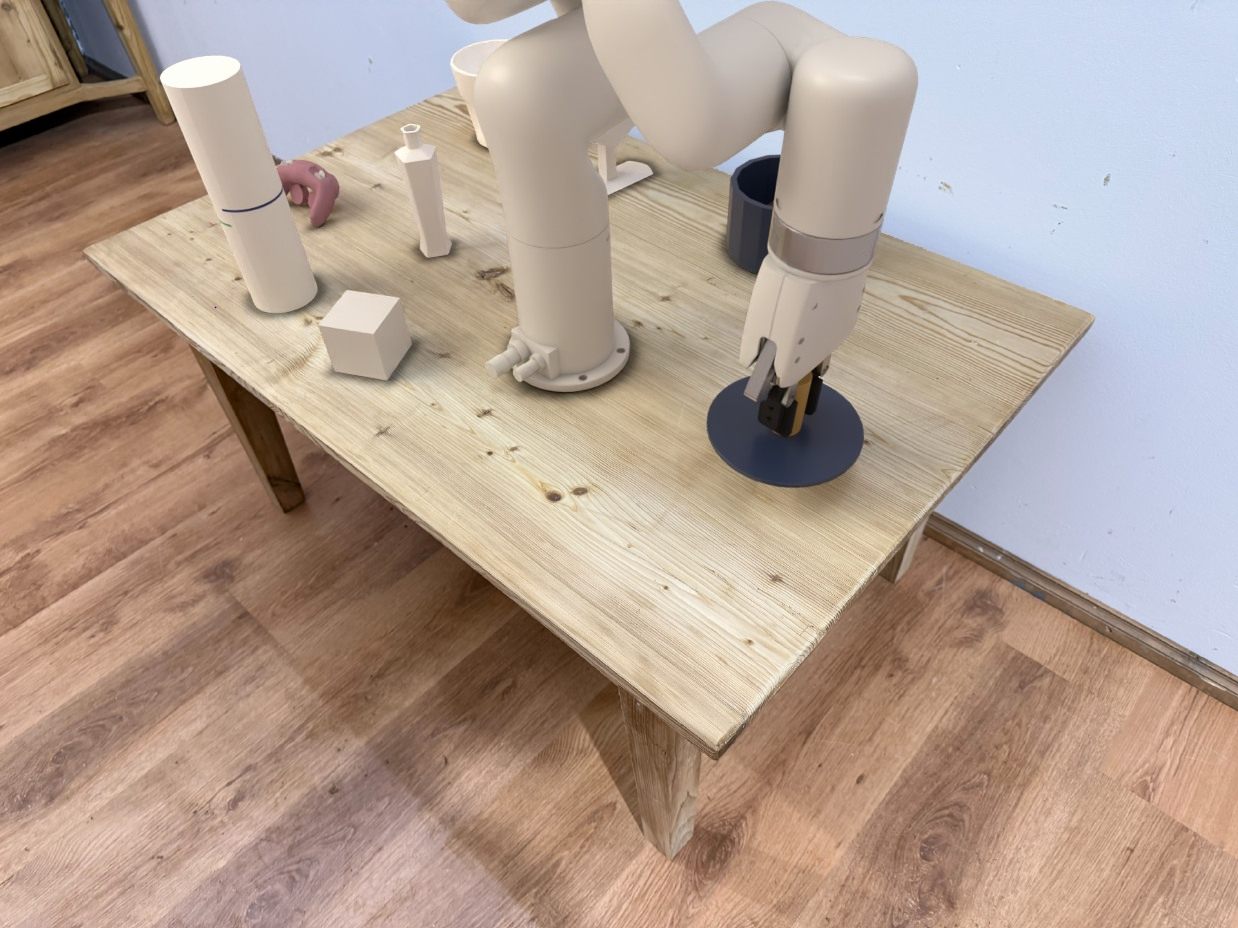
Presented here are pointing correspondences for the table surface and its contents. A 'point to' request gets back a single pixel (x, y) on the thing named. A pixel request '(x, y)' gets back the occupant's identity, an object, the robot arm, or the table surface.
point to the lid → (791, 462)
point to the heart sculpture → (607, 166)
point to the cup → (472, 75)
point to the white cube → (366, 334)
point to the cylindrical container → (241, 179)
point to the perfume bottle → (424, 191)
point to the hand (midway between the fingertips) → (786, 415)
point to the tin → (751, 211)
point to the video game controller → (314, 177)
